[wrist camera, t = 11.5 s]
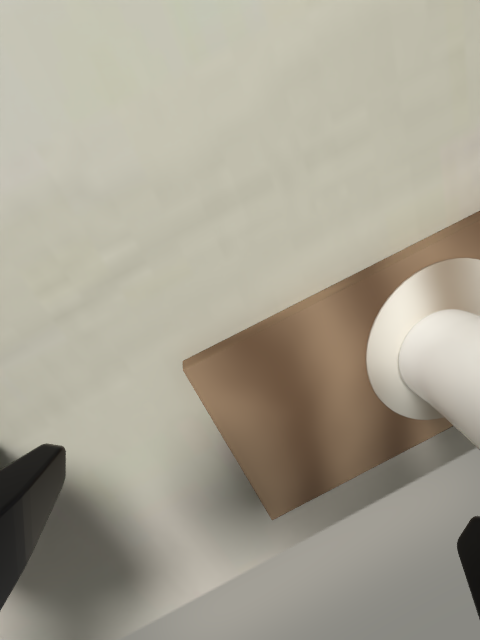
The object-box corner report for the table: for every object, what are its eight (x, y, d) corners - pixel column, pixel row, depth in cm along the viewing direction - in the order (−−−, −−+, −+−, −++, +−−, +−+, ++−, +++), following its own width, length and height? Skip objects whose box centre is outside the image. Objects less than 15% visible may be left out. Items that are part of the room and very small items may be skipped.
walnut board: (267, 505, 23) (273, 523, 22) (182, 361, 19) (183, 372, 18) (528, 369, 24) (549, 378, 22) (499, 201, 20) (522, 200, 18)
